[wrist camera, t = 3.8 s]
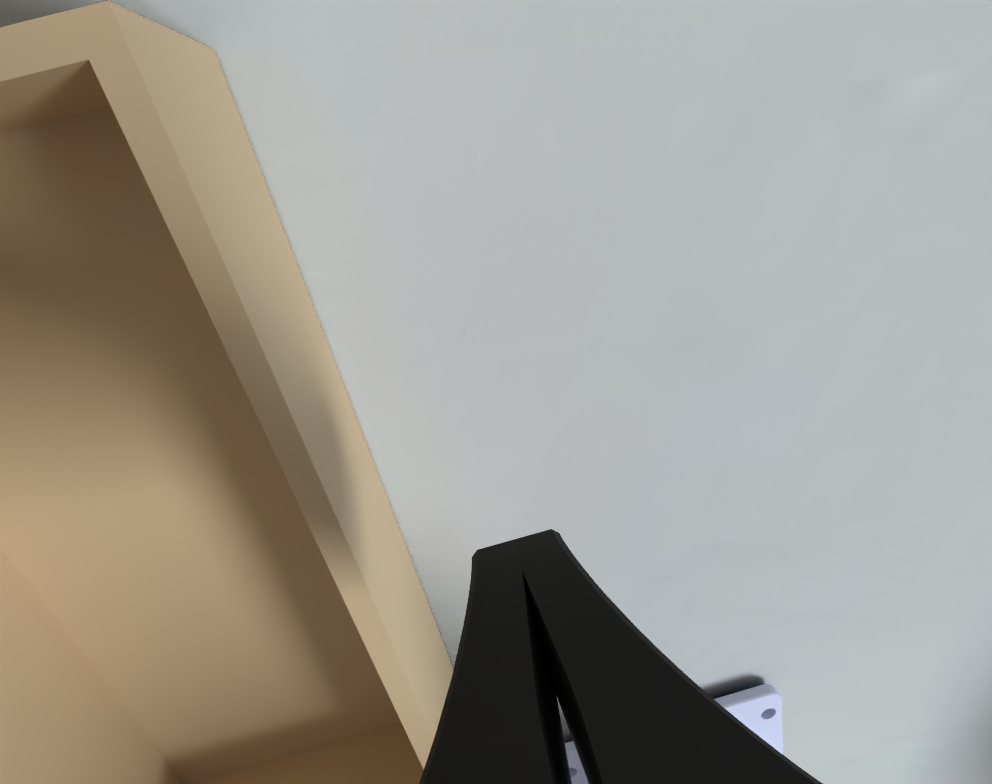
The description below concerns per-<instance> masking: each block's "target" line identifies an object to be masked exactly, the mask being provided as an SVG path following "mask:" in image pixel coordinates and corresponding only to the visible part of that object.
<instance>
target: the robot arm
mask: <svg viewBox="0 0 992 784" xmlns="http://www.w3.org/2000/svg"><path fill="white" fill-rule="evenodd" d="M556 695H557V696H556ZM557 698H558V700H559V703H560V706H561V709H562V711H563V714H564V717H565V720H566V722H567V725H568V728H569V731H570V733H571V736H572V739H573V741H571V742H567V743H565V742H564V736H563V730H562V724H561V719H560V713H559V708H558V702H557ZM419 784H822V783H821V782H819V781H818V780H816V779H815V778H814V777H812V776H811V775H809V774H808V773H807V772H805V771H804V770H802V769H801V768H800V767H798V766H797V765H796V764H794V763H793V762H792V761H790V760H789V759H788V758H786V757H785V756H784V755H783V737H782V699H781V696H780V694H779V693H778V691H777V690H776V688H775V687H774V686H772V685H767V684H765V685H760V686H756V687H753V688H749V689H746V690H743V691H739V692H736V693H733V694H729V695H726V696H722V697H719V698H716V699H713V698H712V697H711V696H709V695H708V694H707V693H706V692H705V691H704V690H702V689H701V688H700V687H699V686H698V685H697V684H696V683H695V682H693V681H692V680H691V679H690V678H689V677H688V676H687V675H686V674H684V673H683V672H682V671H681V670H680V669H679V668H678V667H677V666H676V665H675V664H674V663H673V662H672V661H671V660H669V659H668V658H667V657H666V656H665V655H664V654H663V653H662V652H661V651H660V650H659V649H658V648H657V647H656V646H655V645H654V644H653V643H652V642H651V641H650V640H649V639H648V638H647V637H646V636H645V635H644V634H643V633H641V632H640V631H639V630H638V629H637V628H636V626H635V625H634V624H633V623H632V622H631V621H630V620H629V619H628V618H627V617H626V616H625V615H624V614H623V613H622V612H621V611H620V609H619V608H618V607H617V606H616V605H615V604H614V603H613V602H612V601H611V600H610V599H609V598H608V597H607V596H606V594H605V593H604V592H603V591H602V590H601V589H600V588H599V586H598V585H597V584H596V583H595V582H594V580H593V579H592V578H591V577H590V576H589V574H588V573H587V572H586V571H585V570H584V568H583V567H582V566H581V564H580V563H579V562H578V561H577V559H576V558H575V557H574V555H573V554H572V553H571V551H570V550H569V548H568V547H567V545H566V544H565V542H564V541H563V539H562V537H561V536H560V534H559V533H558V532H556V531H554V530H552V529H550V530H547V531H543V532H540V533H536V534H533V535H529V536H525V537H522V538H518V539H515V540H511V541H508V542H504V543H500V544H497V545H493V546H490V547H486V548H483V549H479V550H477V551H476V553H475V554H474V555H473V557H472V572H471V583H470V591H469V598H468V604H467V610H466V615H465V621H464V626H463V630H462V635H461V639H460V644H459V648H458V653H457V657H456V662H455V666H454V670H453V674H452V678H451V682H450V685H449V689H448V692H447V696H446V699H445V703H444V706H443V710H442V713H441V717H440V720H439V724H438V727H437V731H436V734H435V737H434V740H433V743H432V747H431V750H430V753H429V756H428V759H427V762H426V765H425V768H424V771H423V773H422V776H421V779H420V782H419Z"/></svg>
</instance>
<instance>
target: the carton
mask: <svg viewBox="0 0 992 784" xmlns="http://www.w3.org/2000/svg"><path fill="white" fill-rule="evenodd" d="M453 670H454V668H453V666H452V663H451V661H450V658H449V656H448V653H447V650H446V648H445V645H444V643H443V640H442V637H441V635H440V632H439V630H438V627H437V624H436V622H435V619H434V617H433V614H432V612H431V609H430V606H429V604H428V601H427V599H426V596H425V593H424V591H423V588H422V586H421V583H420V580H419V578H418V575H417V573H416V570H415V568H414V565H413V562H412V560H411V557H410V555H409V552H408V549H407V547H406V544H405V542H404V539H403V536H402V534H401V531H400V529H399V526H398V523H397V521H396V518H395V516H394V513H393V511H392V508H391V505H390V503H389V500H388V498H387V495H386V492H385V490H384V487H383V485H382V482H381V479H380V477H379V474H378V472H377V469H376V467H375V464H374V461H373V459H372V456H371V454H370V451H369V448H368V446H367V443H366V441H365V438H364V435H363V433H362V430H361V428H360V425H359V423H358V420H357V417H356V415H355V412H354V410H353V407H352V404H351V402H350V399H349V397H348V394H347V391H346V389H345V386H344V384H343V381H342V379H341V376H340V373H339V371H338V368H337V366H336V363H335V360H334V358H333V355H332V353H331V350H330V347H329V345H328V342H327V340H326V337H325V334H324V332H323V329H322V327H321V324H320V322H319V319H318V316H317V314H316V311H315V309H314V306H313V303H312V301H311V298H310V296H309V293H308V290H307V288H306V285H305V283H304V280H303V278H302V275H301V272H300V270H299V267H298V265H297V262H296V259H295V257H294V254H293V252H292V249H291V246H290V244H289V241H288V239H287V236H286V234H285V231H284V228H283V226H282V223H281V221H280V218H279V215H278V213H277V210H276V208H275V205H274V202H273V200H272V197H271V195H270V192H269V190H268V187H267V184H266V182H265V179H264V177H263V174H262V171H261V169H260V166H259V164H258V161H257V158H256V156H255V153H254V151H253V148H252V145H251V143H250V140H249V138H248V135H247V133H246V130H245V127H244V125H243V122H242V120H241V117H240V114H239V112H238V109H237V107H236V104H235V101H234V99H233V96H232V94H231V91H230V89H229V86H228V83H227V81H226V78H225V76H224V73H223V70H222V68H221V65H220V63H219V60H218V57H217V55H216V52H215V50H214V49H212V48H210V47H207V46H205V45H203V44H201V43H199V42H197V41H195V40H192V39H190V38H188V37H186V36H184V35H182V34H180V33H177V32H175V31H173V30H171V29H169V28H167V27H165V26H162V25H160V24H158V23H156V22H154V21H152V20H149V19H147V18H145V17H143V16H141V15H139V14H137V13H134V12H132V11H130V10H128V9H126V8H124V7H122V6H119V5H117V4H115V3H113V2H111V1H109V0H108V1H104V2H100V3H96V4H92V5H88V6H84V7H79V8H75V9H71V10H67V11H63V12H59V13H55V14H51V15H47V16H43V17H39V18H35V19H31V20H27V21H23V22H19V23H15V24H11V25H7V26H3V27H0V784H419V782H420V779H421V776H422V773H423V771H424V768H425V765H426V762H427V759H428V756H429V753H430V750H431V747H432V743H433V740H434V737H435V734H436V731H437V727H438V724H439V720H440V717H441V713H442V710H443V706H444V703H445V699H446V696H447V692H448V689H449V685H450V682H451V678H452V674H453Z"/></svg>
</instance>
